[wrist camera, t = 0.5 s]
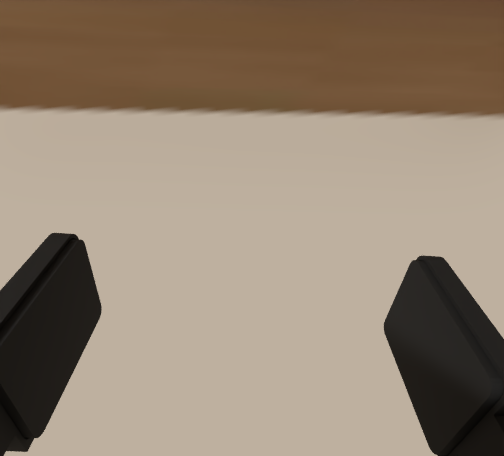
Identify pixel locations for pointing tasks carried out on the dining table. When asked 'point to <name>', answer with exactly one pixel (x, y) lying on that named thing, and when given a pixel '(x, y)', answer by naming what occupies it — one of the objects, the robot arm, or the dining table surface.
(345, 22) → the dining table surface
